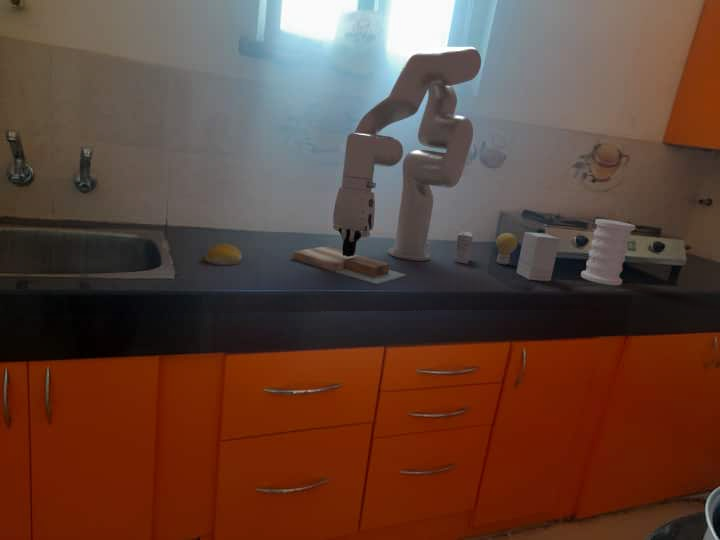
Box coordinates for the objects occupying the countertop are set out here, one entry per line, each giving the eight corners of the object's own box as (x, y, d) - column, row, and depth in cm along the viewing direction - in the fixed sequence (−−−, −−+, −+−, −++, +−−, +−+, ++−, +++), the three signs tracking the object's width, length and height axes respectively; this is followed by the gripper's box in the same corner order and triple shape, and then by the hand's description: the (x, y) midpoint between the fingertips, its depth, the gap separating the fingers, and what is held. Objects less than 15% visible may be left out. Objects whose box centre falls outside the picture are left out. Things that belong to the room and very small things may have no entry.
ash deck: (325, 253, 142) (326, 246, 142) (366, 264, 135) (366, 257, 134) (292, 258, 131) (293, 251, 130) (334, 271, 124) (335, 264, 123)
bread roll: (201, 264, 116) (202, 247, 115) (211, 255, 125) (212, 239, 124) (237, 268, 117) (238, 251, 116) (244, 259, 126) (245, 243, 125)
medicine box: (468, 264, 152) (473, 236, 149) (453, 262, 152) (458, 234, 150) (467, 259, 159) (472, 232, 157) (453, 256, 160) (458, 230, 158)
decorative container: (609, 277, 160) (624, 221, 155) (628, 287, 149) (644, 228, 144) (574, 272, 159) (587, 217, 155) (590, 282, 148) (605, 223, 144)
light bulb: (499, 260, 163) (506, 230, 160) (516, 265, 158) (523, 235, 156) (488, 261, 159) (494, 231, 156) (505, 267, 154) (511, 235, 152)
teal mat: (367, 265, 135) (367, 263, 135) (405, 276, 128) (406, 274, 128) (336, 272, 123) (336, 270, 123) (376, 284, 117) (376, 283, 117)
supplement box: (551, 281, 143) (561, 238, 140) (528, 280, 141) (537, 236, 138) (537, 274, 150) (546, 233, 147) (515, 272, 148) (523, 231, 145)
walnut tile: (359, 265, 132) (360, 256, 131) (388, 273, 127) (389, 264, 126) (343, 268, 126) (345, 259, 126) (373, 277, 121) (374, 267, 121)
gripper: (390, 188, 124) (380, 260, 128) (341, 180, 131) (333, 247, 136) (374, 189, 118) (364, 264, 122) (324, 179, 125) (316, 250, 130)
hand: (348, 255), depth 129 cm, fingers closed
